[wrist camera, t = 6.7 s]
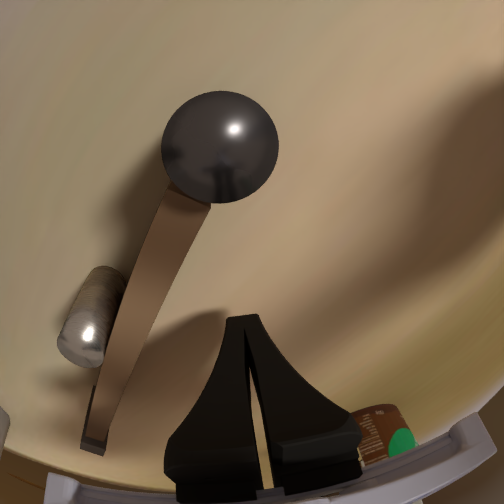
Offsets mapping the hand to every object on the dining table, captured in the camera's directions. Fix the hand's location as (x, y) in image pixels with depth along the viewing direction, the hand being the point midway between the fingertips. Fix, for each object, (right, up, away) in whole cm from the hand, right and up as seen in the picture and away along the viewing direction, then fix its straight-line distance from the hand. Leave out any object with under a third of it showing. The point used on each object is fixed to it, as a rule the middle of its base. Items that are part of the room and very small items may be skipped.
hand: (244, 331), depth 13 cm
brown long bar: (-6, 0, +1) cm, 6 cm away
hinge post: (-1, +8, -3) cm, 9 cm away
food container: (+14, -13, +12) cm, 23 cm away
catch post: (-7, +2, 0) cm, 7 cm away
